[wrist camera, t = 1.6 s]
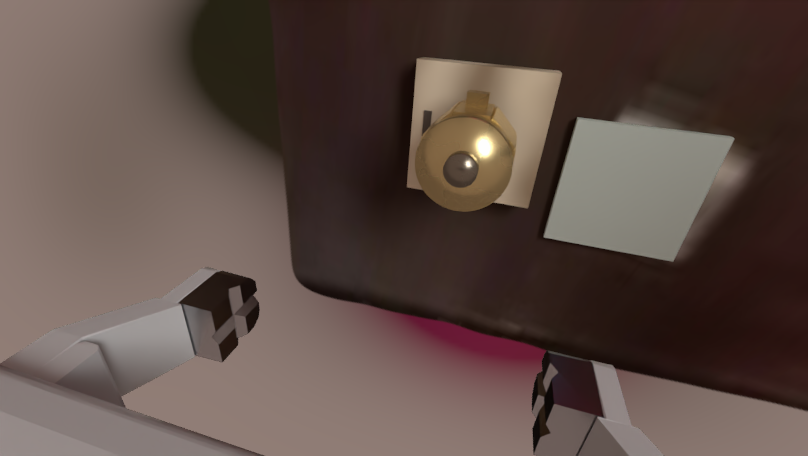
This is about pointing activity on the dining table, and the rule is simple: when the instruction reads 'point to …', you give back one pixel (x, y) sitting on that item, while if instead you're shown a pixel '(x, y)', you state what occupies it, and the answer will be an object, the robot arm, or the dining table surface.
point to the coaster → (633, 186)
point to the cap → (467, 155)
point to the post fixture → (510, 90)
